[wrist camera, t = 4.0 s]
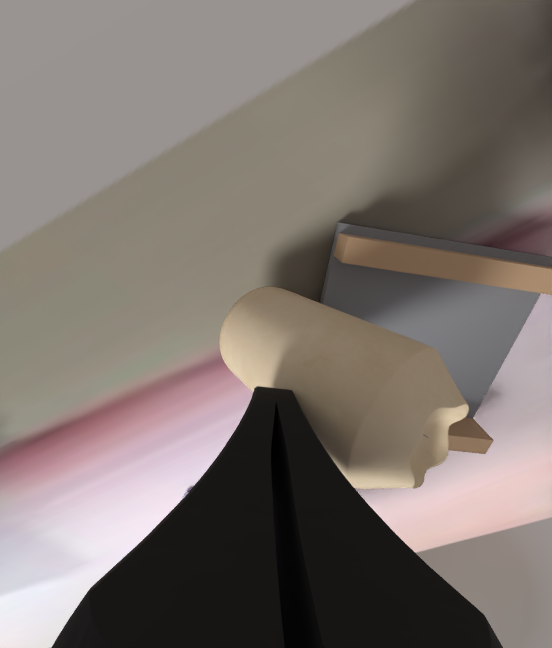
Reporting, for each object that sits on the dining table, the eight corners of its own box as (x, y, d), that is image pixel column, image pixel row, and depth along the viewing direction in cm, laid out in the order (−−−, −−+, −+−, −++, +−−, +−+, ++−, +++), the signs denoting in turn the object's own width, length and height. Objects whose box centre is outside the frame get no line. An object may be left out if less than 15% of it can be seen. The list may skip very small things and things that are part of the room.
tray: (456, 428, 21) (481, 459, 18) (295, 410, 20) (298, 440, 17) (546, 256, 16) (600, 265, 13) (337, 222, 15) (351, 225, 12)
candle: (269, 263, 14) (493, 331, 7) (310, 324, 18) (485, 410, 11) (196, 342, 13) (371, 514, 6) (255, 390, 17) (407, 534, 10)
